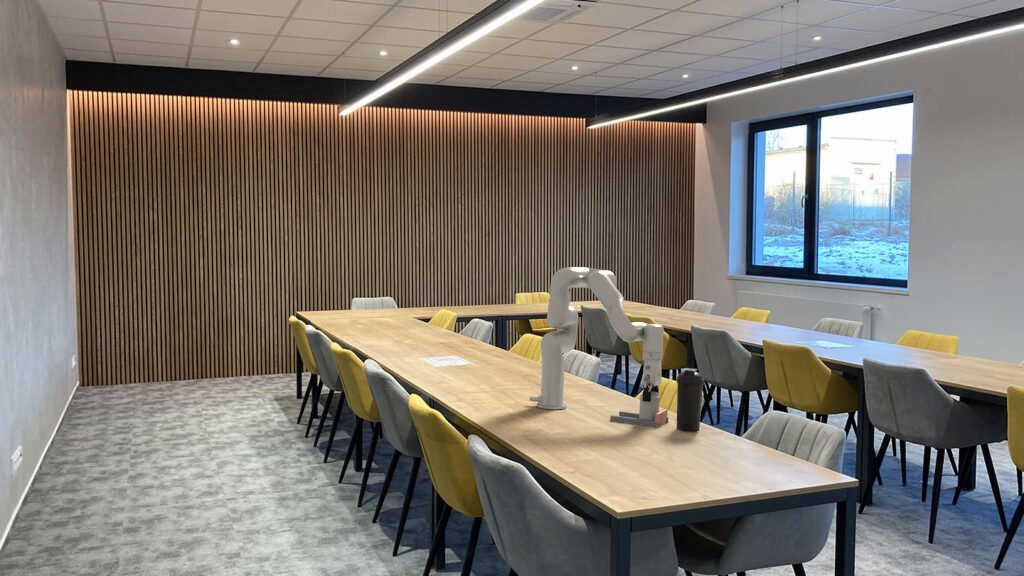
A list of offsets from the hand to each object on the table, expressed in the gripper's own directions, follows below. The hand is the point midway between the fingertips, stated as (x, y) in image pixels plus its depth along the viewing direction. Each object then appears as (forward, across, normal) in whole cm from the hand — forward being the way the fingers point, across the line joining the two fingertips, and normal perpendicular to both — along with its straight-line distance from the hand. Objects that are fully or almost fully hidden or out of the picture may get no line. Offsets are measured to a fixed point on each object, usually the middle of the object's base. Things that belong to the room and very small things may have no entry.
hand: (650, 399), depth 333 cm
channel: (+9, 0, +4) cm, 10 cm away
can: (+9, 0, 0) cm, 9 cm away
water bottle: (+9, -3, -16) cm, 19 cm away
